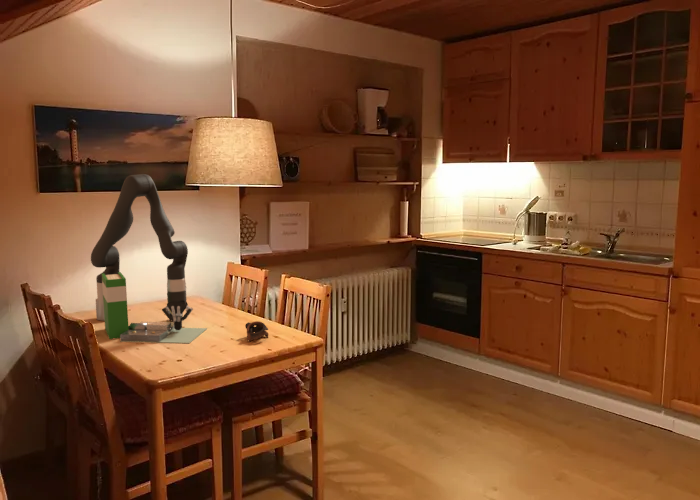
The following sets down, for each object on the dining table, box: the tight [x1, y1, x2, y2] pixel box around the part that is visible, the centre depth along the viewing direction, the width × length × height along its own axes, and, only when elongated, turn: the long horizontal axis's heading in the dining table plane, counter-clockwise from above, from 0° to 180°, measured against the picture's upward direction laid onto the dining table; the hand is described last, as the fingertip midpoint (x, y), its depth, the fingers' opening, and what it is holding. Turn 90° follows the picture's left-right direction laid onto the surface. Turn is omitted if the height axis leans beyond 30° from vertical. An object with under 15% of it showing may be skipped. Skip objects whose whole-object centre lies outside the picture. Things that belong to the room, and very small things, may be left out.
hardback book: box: [101, 271, 129, 340], centre depth 245 cm, size 18×7×24 cm, turn 28°
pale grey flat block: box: [139, 321, 176, 336], centre depth 247 cm, size 16×12×4 cm
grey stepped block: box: [119, 322, 172, 342], centre depth 240 cm, size 18×12×5 cm
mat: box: [119, 327, 208, 344], centre depth 244 cm, size 28×22×1 cm
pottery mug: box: [245, 320, 269, 342], centre depth 239 cm, size 12×10×8 cm
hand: (178, 329), depth 248 cm, fingers closed
